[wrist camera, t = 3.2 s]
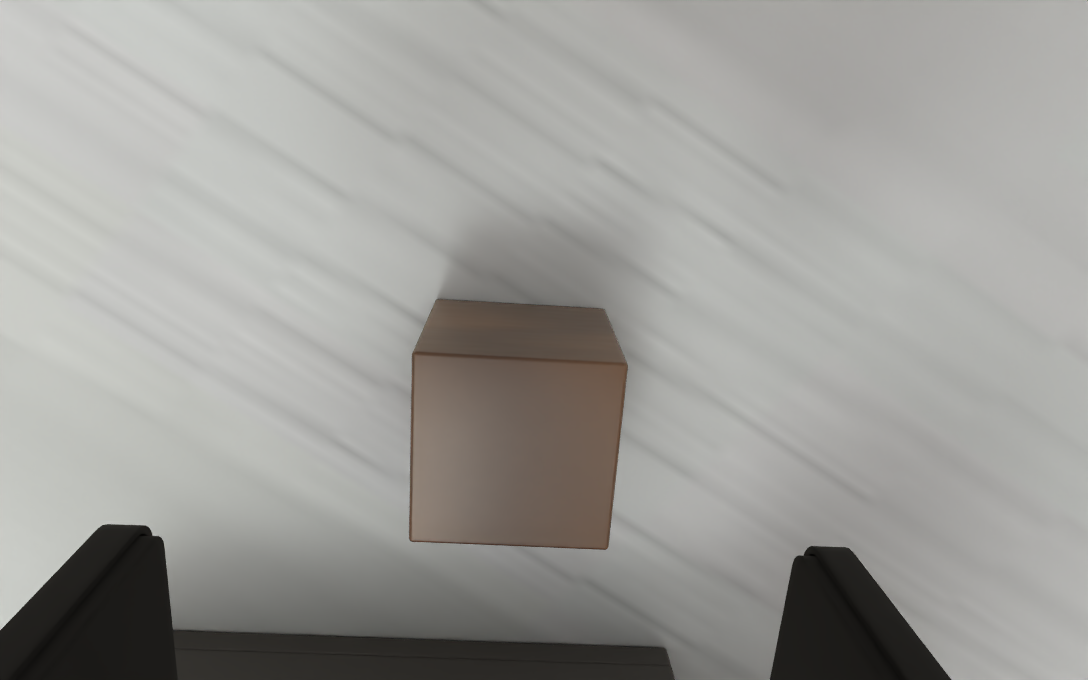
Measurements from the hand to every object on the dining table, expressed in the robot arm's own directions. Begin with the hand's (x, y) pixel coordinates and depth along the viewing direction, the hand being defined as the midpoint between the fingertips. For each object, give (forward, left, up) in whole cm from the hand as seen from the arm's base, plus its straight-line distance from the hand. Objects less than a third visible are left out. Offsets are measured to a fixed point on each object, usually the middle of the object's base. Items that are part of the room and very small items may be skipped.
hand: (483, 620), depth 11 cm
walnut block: (0, 0, -10) cm, 10 cm away
